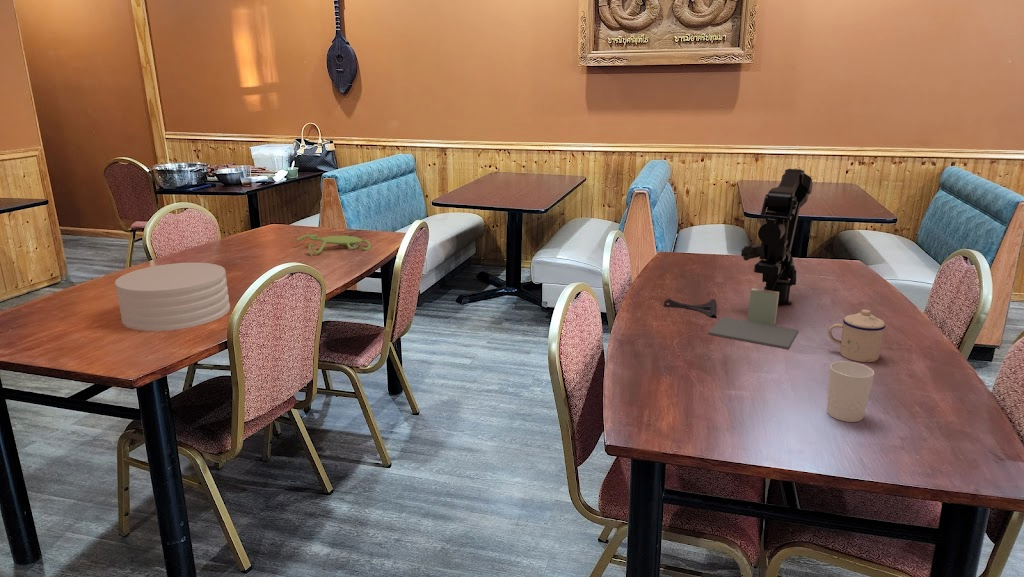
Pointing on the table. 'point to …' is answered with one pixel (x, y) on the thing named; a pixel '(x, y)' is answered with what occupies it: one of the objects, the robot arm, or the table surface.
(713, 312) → the bracket
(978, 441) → the table surface
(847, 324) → the teacup with lid
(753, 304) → the tile
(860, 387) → the white cup
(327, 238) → the figurine
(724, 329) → the mat
